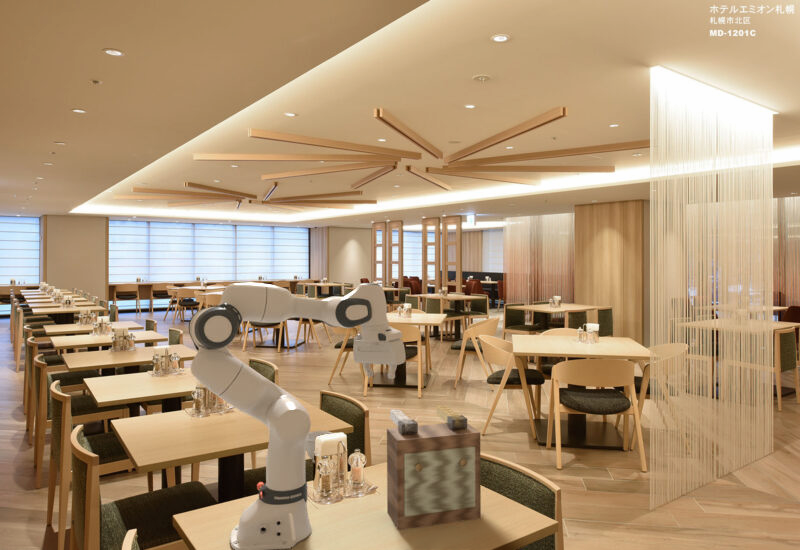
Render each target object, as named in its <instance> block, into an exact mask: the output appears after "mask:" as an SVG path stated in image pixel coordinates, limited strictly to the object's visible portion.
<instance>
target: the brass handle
mask: <svg viewBox="0 0 800 550" xmlns="http://www.w3.org/2000/svg"><path fill="white" fill-rule="evenodd" d="M435 407H436V409H435V414H436V416H437V417H438V418H440V419H441V420H442V421H444V422H445V423H447V426H448V427H449V428H450V429H452V430H456V429H466V428H467V423H468V418H467V417H465V416H464V415H462V414H461V415H459V414H458V413H457V412H455V411H453V410H452V409H450V408H449V407H448V406H447V405H445V404H444V405H436V406H435Z"/></svg>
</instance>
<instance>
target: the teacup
mask: <svg viewBox="0 0 800 550" xmlns="http://www.w3.org/2000/svg"><path fill="white" fill-rule="evenodd" d="M332 433H333V432H331V431H327V430H316V431H309V433H308V441H307V447H306V453H307V455H308V457H309V458H310V459H311V462H312V463H314V464H316V463H315V460H314V451H315V438H316V437H317V436H320V435H324V434H332Z"/></svg>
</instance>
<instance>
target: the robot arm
mask: <svg viewBox="0 0 800 550" xmlns="http://www.w3.org/2000/svg"><path fill="white" fill-rule="evenodd" d="M220 297H221V298H220V302H219V303H218V305H216V306H212V307H205V308H203V309H200V310H198V311H196V312H195V313H194V314H193V315H192V316H191V318H190V320H189V323H188V333H189V336H190V338H191V340H192V342H193V345H194V348H195V349H196V351H197V353H196V354H195V356H194V357H193V359H192V361H191V364H190V365H191V366H190V372H191V374H192V376H193V377H194V378H195V379H196V380H197V381H198V382H199V383H200V384H201V385H203V386H204V387H205V388H206V389H207V390H208V391H210V392H211V393H213V394H214V395H216V396H217V397H218V398H220V399H222V400H223V401H224V402H226V403H227V404H228V405H231V406H232V407H233V408H235V409H236V410H238V411H240V412H242V413H244V414H246V415H248V416H250V417H252V418H254V420H255V419H256V420H257V421H259V422H261V423H262V424H264V426H266V427H267V429H268V447H267V453H266V456H265V470H266V471H265V481H266V482H265V483H264V482H263V481H259V482H258V483H257V484H256V489H257V490H258V498H257V499H256V500H255V501H253V502H252V503H251V504H250V505H249V506H247V507H246V508H245V509H244V510H243V511H242V512H241V515H240V517H239V522H238V524H237V525H235V527H233V529H231V530H232V531H230V532H231V533H230V538H229V543H231V544H230V546H231V549H233V550H234V549H235V550H285V549H286V550H287V549H291V547H292V548H293V547H295V546H296V544H297V543H299V542H301V541H303V540H304V539H307V537H309V536H310V535H311V533H312V531H313V528H312V525H311V522H310V519H309V518H310V516H309V513H308V505H307V504H308V503H307V501H308V494H309V493H308V492H309V490H308V483H307V479H306V453H307V451H306V447H307V441H308V433H310V432H311V431H310V430H311V425H312V424H311V423H312V422H311V417H310V416H311V415H310V414H309V411H308V409H307V408H306V407H305V405H303V404H302V403H301V402H300V401H299V400H298V399H297V398H296V397H295V396H294V395H293V394H291V393H290V392H288V391H287V390H285V389H284V388H282V387H280V386H279V385H278V384H277V383H275V382H273V381H271V380H270V379H268V378H267V377H265V376H263V375H262V374H261V373H259V372H258V371H256V370H255V369H254V368H252V367H251V366H249V365H248V364H247V363H245V362H244V361H243V360H241V359H239V358H238V357H236V356H235V355H234V354H232V352H230V350H229V349H228V345H230V344H231V343H232V342H233V341H234V339H235V337H236V336H237V334H238V330H239V329H240V327H241V325H242V323H243V322H253V323H254V322H255V323H262V324H263V323H264V324H265V323H266V324H267V323H269V324H271V323H273V324H274V323H282V322H285V321H287V320H289V319H293V318H294V319H295V318H298V319H299V318H300V319H308V320H309V319H311V320H318V321H320V322H322V323H323V324H325V325H326V326H329V327H331V328H344V329H353V328H356V327H357V326H360V331H361V333H357V334H355V336H354V337H353V345H352V346H353V348H352V353H353V354H352V357H353V361H354V362H355V363H356V364H362V367H363V368H364V371H365V372H366V377H367V378H372V377H374V376H375V375H374V370H372V367H371V365H373V364H376V365H388V368H389V372H387V379H390V380H391V379H392V380H393V379H395V378H396V370H397V367H398V365H401V364H405V362H406V359H407V358H406V349H405V344H404V342H403V340H402V338H403V332H402V331H401V330H399V329H396V328H394V327H392V326H390V324H389V320H388V317H387V316H388V315H387V312H388V306H387V299H386V295H385V291H384V289H383V287H382V285H380V284H379V283H373V282H372V283H371V282H369V283H368V282H363V283H360V284H358V285H357V287H355V289H353V290H352V291H351V292H349V293H347V294H346V295H343V296H338V295H334V296H330V297H327V298H323V299H317V298H316V299H314V298H307V297H301V296H300V297H299V296H296V295H294V294H292V292H291V291H290V290H288V288H284V287H282V286H278V285H274V284H268V283H261V282H234V283H230V284H228V285H227V286H226V287H225V288H224V290H223V292H222V294H221V296H220Z"/></svg>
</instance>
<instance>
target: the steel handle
mask: <svg viewBox="0 0 800 550" xmlns="http://www.w3.org/2000/svg"><path fill="white" fill-rule="evenodd" d="M389 411H390V413H389V414H390V415H389V416H390V418H389V419H390V420H391V421H392V422H393V423H394V425H396V426H397V428H398V431H399V432H400V433H401V434H402V435H404V434H414V433H418V426H419V423H418V422H417V421H416V420H415V419H410V417H409V416H407V415H406V414H405V413H404V412H403V411H402V410H401V409H399V408H397V409H390V410H389Z"/></svg>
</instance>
